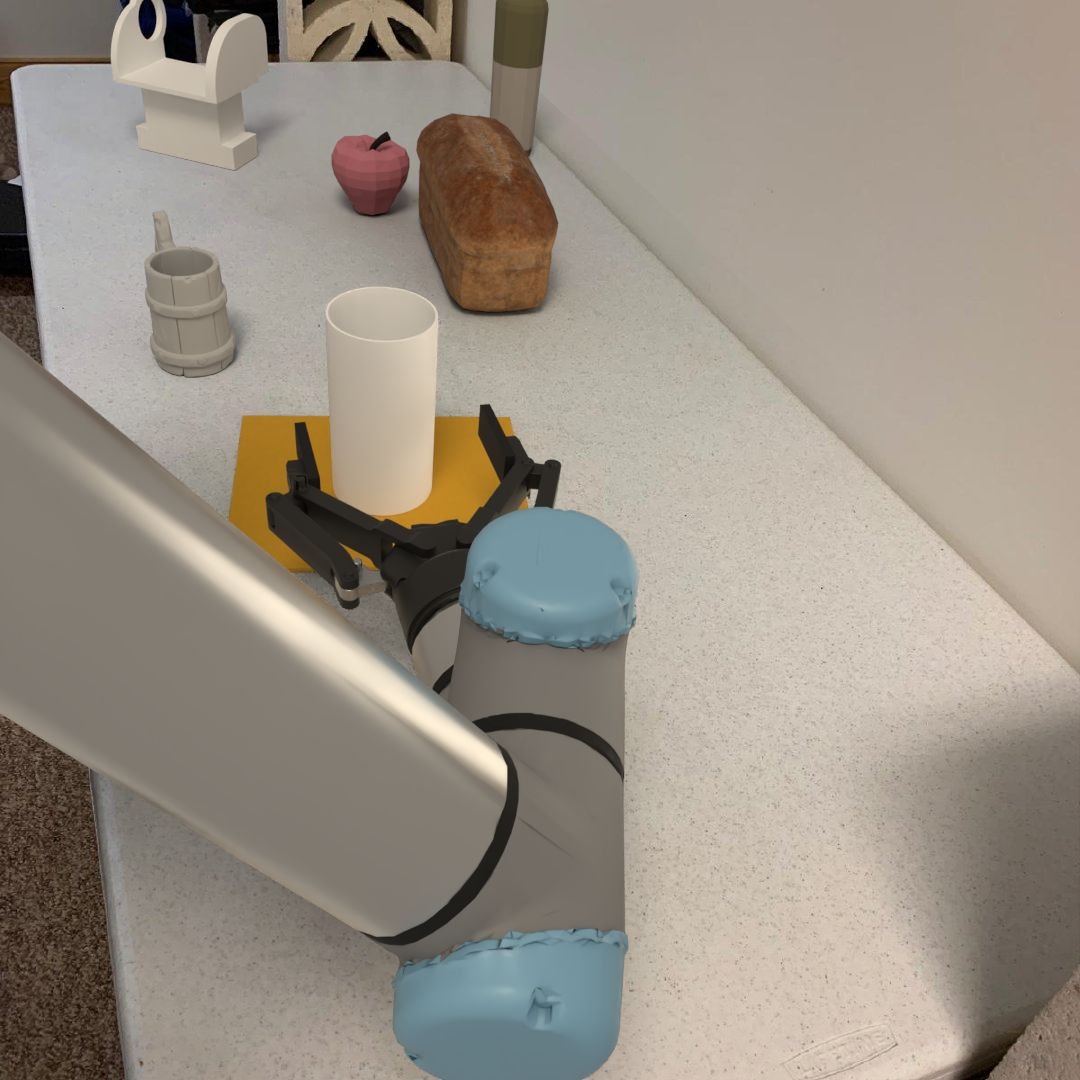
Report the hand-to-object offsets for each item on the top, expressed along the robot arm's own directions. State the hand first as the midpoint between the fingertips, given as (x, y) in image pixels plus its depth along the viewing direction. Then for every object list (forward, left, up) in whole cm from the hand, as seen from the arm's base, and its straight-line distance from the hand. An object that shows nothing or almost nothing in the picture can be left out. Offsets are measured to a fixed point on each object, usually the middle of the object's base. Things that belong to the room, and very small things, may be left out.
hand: (394, 427), depth 73 cm
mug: (-19, +27, -10) cm, 35 cm away
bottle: (+19, +82, -10) cm, 85 cm away
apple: (-1, +60, -10) cm, 61 cm away
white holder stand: (-23, +77, -10) cm, 81 cm away
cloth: (-1, +5, -10) cm, 11 cm away
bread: (+11, +47, -10) cm, 50 cm away
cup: (-1, +5, -10) cm, 11 cm away
